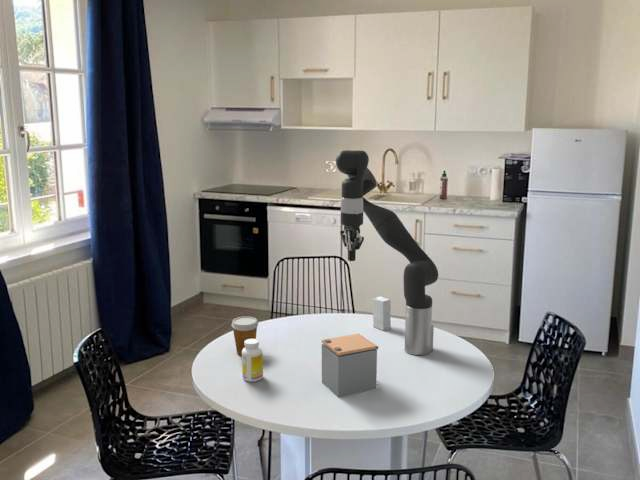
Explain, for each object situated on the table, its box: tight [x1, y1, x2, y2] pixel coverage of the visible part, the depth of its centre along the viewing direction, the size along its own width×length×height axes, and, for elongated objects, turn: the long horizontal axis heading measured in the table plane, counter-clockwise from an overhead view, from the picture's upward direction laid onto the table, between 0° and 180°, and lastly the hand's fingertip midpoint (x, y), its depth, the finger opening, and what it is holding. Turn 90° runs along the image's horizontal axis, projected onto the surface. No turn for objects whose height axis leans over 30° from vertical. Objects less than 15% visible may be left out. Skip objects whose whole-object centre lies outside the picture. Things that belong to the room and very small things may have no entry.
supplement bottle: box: [241, 338, 264, 383], centre depth 211 cm, size 7×7×13 cm
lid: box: [321, 333, 379, 356], centre depth 203 cm, size 14×12×2 cm
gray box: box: [321, 343, 378, 398], centre depth 205 cm, size 14×12×13 cm
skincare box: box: [372, 295, 392, 331], centre depth 254 cm, size 6×4×12 cm
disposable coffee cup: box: [231, 316, 259, 356], centre depth 231 cm, size 10×10×12 cm
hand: (351, 260), depth 220 cm, fingers closed
